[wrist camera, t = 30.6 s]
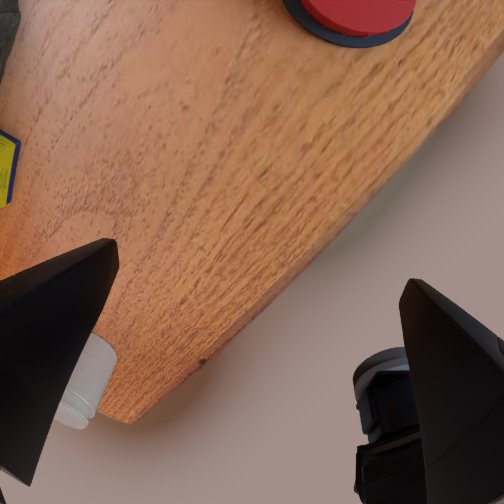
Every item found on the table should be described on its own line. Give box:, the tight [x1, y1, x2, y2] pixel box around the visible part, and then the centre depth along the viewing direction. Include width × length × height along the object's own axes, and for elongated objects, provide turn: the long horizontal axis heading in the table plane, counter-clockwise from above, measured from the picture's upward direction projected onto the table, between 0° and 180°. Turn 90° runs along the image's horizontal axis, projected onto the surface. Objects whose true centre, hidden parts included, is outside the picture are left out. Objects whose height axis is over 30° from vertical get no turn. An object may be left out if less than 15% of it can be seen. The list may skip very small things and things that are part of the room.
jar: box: [54, 332, 118, 429], centre depth 26 cm, size 6×6×9 cm
